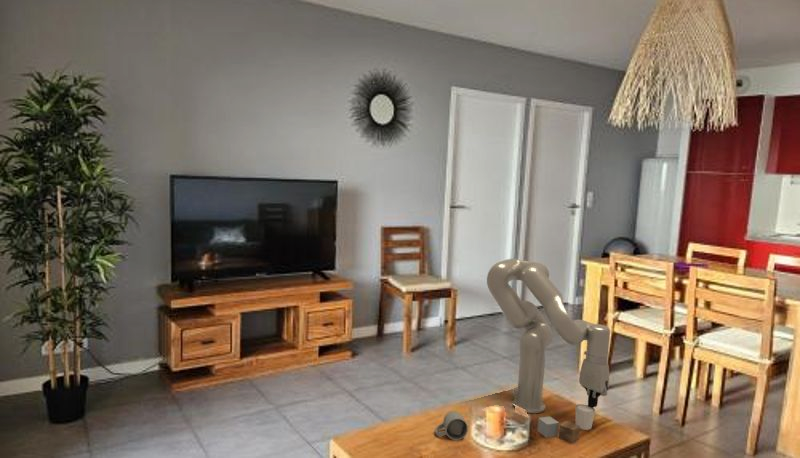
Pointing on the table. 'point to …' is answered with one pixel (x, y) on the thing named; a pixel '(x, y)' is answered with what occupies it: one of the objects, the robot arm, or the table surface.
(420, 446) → the table surface
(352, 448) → the table surface
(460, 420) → the ceramic mug
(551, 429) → the slate block
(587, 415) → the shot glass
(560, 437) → the walnut block
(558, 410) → the table surface
